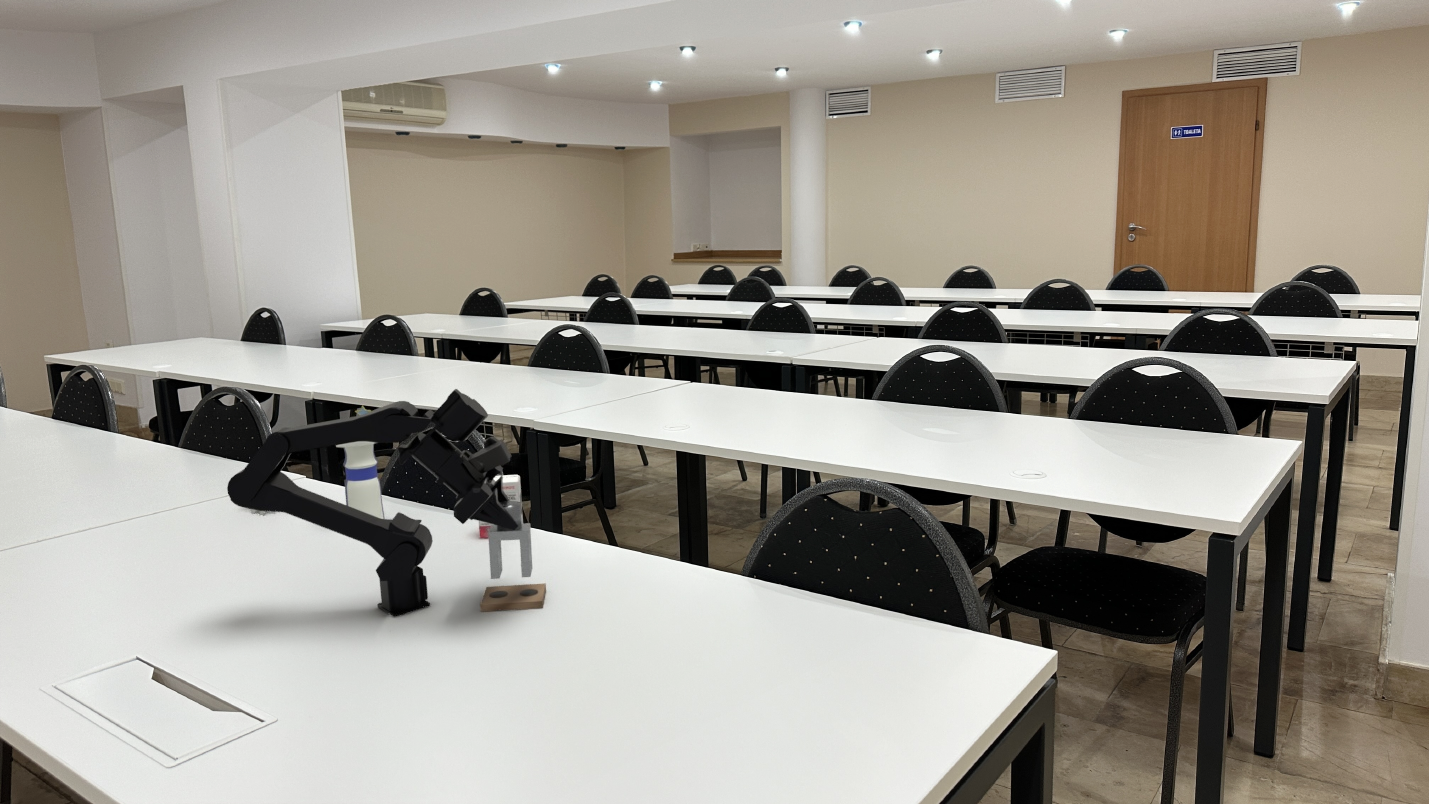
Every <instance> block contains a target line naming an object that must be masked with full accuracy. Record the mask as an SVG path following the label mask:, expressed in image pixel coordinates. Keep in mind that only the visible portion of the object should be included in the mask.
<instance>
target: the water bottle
mask: <svg viewBox="0 0 1429 804" xmlns="http://www.w3.org/2000/svg"><path fill="white" fill-rule="evenodd" d="M371 411H372V410H371V409H366V408H365V407H364V405H362V406H361V408H360V409H358V410H355V411H354V412H355V413H356V414H358V416H360V415H363V414H366V413H368V412H371ZM335 447H336V448H339V449H343V450H344V457H345V458H344V462H343V463H342V466H343V467H344V468H345V484H344V491H345V492H344V493H345V505H347V506H349V507H352V508H355V509H357V510H360V511H362V512H365V513H367V514H370V515H373V516H375V517H378V518H381V519H386V518H385V512H384V506H383V497H382V496H383V495H382V488H381V486H382V485H381V482H380V479H379V476H378V470H377V469H378V468H377V464H378V462H379V460H378V459H377V457H376V455H375V451H374V450H375V448H374V447H375V443H374V442H366V441H358V442H352V443H347V444H341V445H335Z"/></svg>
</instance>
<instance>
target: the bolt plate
mask: <svg viewBox="0 0 1429 804" xmlns="http://www.w3.org/2000/svg"><path fill="white" fill-rule="evenodd" d="M546 585H547V584H546V583H532V584H531V583H528V584H514V585H513V584H511V585H497V586H495V585H494V586H486V587H485V590H484V593H483V595H482V599H481V602H480V603H479V608H480V612H481V613H482V612H483V613H484V612H498V611H497V610H500V611H511V610H512V611H513V610H514V609H515V610H517V611H518V610H530V609H543V608H544V604H545V603H544V602H545V598H546V593H547V586H546ZM515 610H514V611H515Z"/></svg>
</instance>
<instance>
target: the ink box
mask: <svg viewBox="0 0 1429 804" xmlns="http://www.w3.org/2000/svg"><path fill="white" fill-rule="evenodd" d="M501 476H503V491H504V493H505V494H506V496H507V497H508V499H509V500H510V501H518V502H520V503H521V520H522V523H524V519H523V504H522V503H523V502H522V489H521V488H522V486H521V476H520V475H518V474H507V475H496V476H495V477H494V480H495V481H497V480H498V479H499V478H500V477H501ZM491 525H494V524H490V523H486V522H482V521H478V529H479V530H478V531H479V532H478V533H479V539H480V538H484V539H489V537H488V532H489V529H490V527H491Z"/></svg>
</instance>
